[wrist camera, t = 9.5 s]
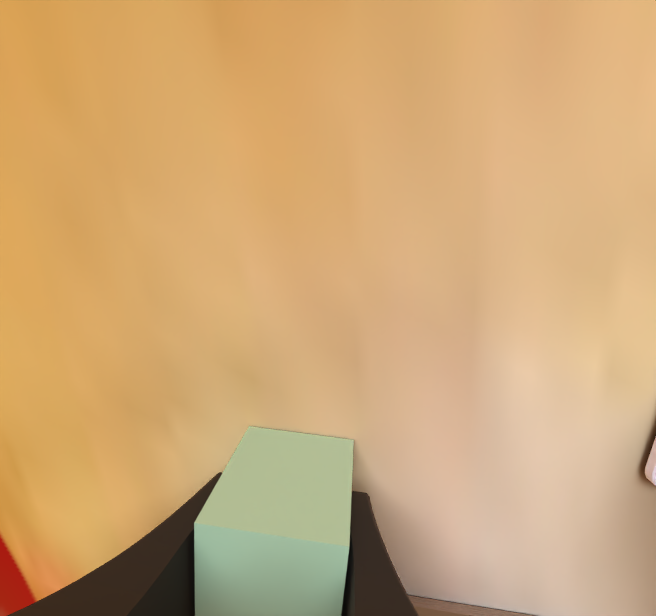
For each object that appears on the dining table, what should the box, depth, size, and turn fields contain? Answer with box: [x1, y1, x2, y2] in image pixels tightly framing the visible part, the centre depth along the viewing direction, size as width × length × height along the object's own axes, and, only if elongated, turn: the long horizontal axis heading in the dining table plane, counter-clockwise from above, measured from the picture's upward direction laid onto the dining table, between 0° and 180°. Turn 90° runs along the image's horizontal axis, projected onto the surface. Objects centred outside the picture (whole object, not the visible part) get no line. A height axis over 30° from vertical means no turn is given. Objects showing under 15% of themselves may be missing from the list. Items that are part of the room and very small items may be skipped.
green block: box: [194, 426, 354, 616], centre depth 12 cm, size 4×4×4 cm
